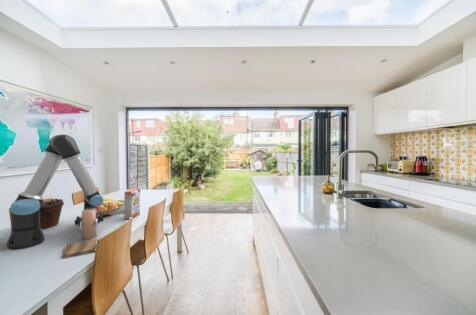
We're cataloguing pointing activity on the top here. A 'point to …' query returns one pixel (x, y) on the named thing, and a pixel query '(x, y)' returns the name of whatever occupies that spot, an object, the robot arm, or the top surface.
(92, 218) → the terracotta canister
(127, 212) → the cracker box
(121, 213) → the grey carved relief
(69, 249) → the cutting board
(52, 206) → the brown tapered bucket
